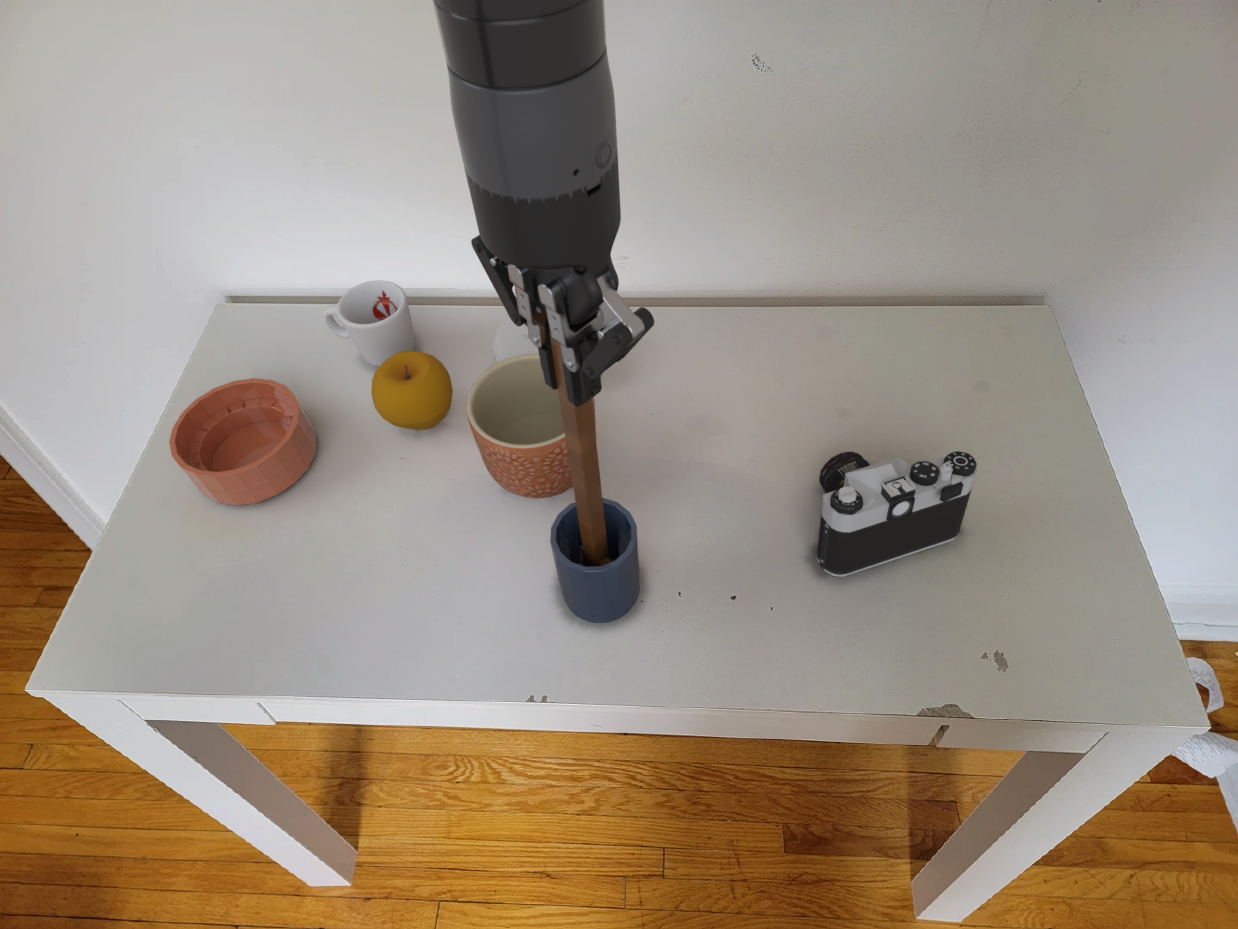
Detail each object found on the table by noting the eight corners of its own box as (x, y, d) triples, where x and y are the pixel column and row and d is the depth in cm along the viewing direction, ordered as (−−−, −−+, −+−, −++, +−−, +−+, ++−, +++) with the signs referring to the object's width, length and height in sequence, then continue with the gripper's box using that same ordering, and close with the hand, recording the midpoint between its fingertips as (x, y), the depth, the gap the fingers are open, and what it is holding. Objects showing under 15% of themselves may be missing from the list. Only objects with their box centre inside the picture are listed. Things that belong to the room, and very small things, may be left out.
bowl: (234, 531, 79) (206, 498, 75) (176, 461, 85) (147, 427, 81) (342, 456, 85) (322, 421, 80) (280, 396, 91) (259, 360, 86)
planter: (462, 480, 82) (438, 413, 73) (533, 405, 88) (519, 335, 79) (554, 533, 77) (540, 469, 69) (623, 451, 83) (618, 382, 75)
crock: (600, 638, 70) (592, 588, 62) (546, 589, 74) (532, 534, 66) (655, 586, 73) (654, 531, 65) (601, 540, 77) (594, 483, 69)
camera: (908, 472, 81) (923, 398, 75) (972, 543, 74) (996, 468, 67) (782, 512, 79) (786, 439, 72) (834, 589, 71) (844, 516, 65)
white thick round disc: (483, 345, 94) (475, 314, 90) (578, 312, 97) (574, 281, 93) (519, 415, 87) (512, 385, 83) (620, 378, 90) (618, 347, 86)
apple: (396, 459, 84) (371, 406, 77) (378, 407, 89) (353, 352, 82) (470, 432, 86) (453, 378, 79) (448, 382, 91) (430, 327, 84)
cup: (326, 370, 93) (301, 321, 86) (351, 325, 97) (328, 275, 91) (411, 378, 91) (392, 329, 85) (431, 332, 96) (415, 281, 90)
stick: (605, 597, 71) (575, 351, 46) (581, 576, 73) (539, 326, 47) (617, 586, 72) (594, 337, 46) (593, 565, 74) (558, 313, 48)
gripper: (393, 129, 39) (464, 369, 52) (580, 242, 32) (605, 480, 46) (507, 71, 42) (546, 313, 55) (698, 165, 35) (687, 410, 49)
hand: (572, 388), depth 51 cm, fingers closed on stick, 1 cm apart
